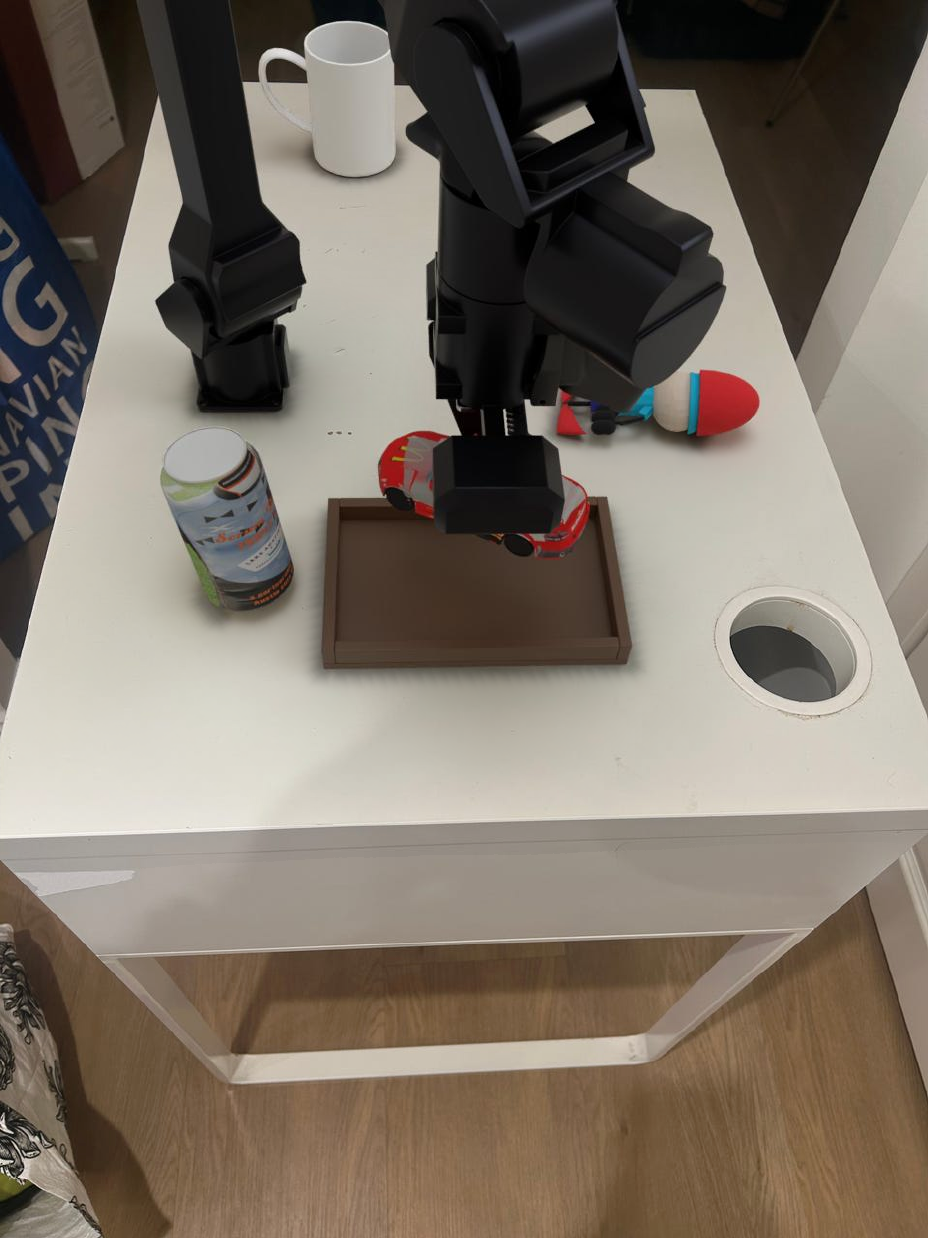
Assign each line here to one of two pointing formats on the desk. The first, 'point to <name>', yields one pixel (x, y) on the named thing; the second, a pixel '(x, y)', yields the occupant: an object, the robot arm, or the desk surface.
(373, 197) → the desk surface
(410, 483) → the race car
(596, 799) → the desk surface
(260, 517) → the beverage can
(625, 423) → the toy figure
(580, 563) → the tray
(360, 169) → the mug
